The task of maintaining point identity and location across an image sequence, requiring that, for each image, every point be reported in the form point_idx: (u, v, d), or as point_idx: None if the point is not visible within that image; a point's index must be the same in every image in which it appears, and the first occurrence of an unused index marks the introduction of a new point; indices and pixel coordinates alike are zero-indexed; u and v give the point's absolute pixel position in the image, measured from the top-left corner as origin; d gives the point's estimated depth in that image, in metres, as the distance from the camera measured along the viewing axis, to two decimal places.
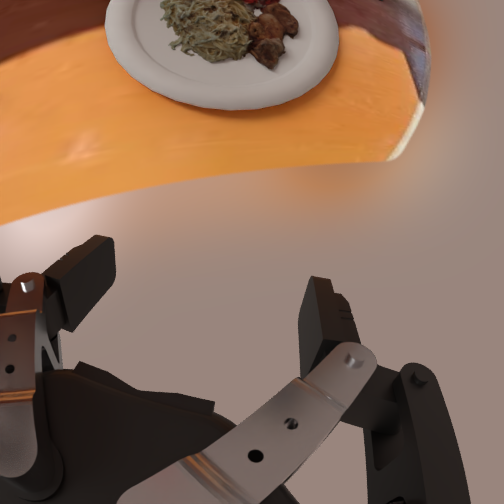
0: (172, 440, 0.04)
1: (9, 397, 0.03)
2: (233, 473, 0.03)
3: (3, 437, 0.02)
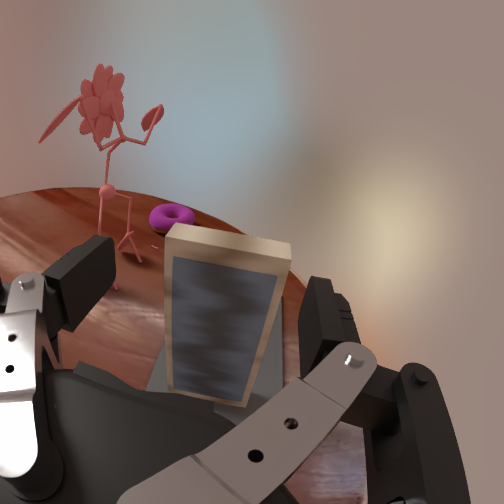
0: (172, 440, 0.04)
1: (9, 397, 0.03)
2: (233, 473, 0.03)
3: (3, 437, 0.02)
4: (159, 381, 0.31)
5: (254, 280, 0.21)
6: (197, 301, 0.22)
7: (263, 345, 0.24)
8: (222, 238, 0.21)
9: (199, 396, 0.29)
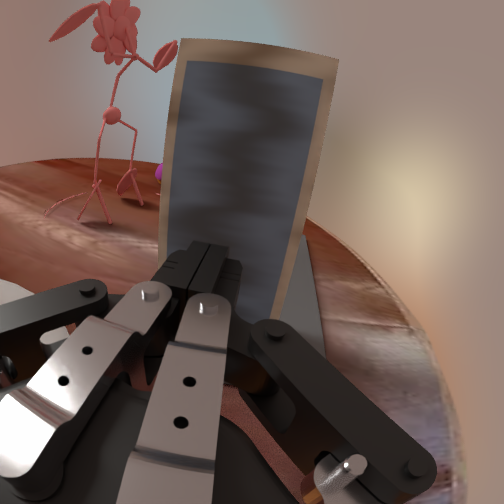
0: None
1: (40, 408, 0.03)
2: (175, 446, 0.04)
3: (3, 437, 0.02)
4: None
5: (293, 83, 0.14)
6: (213, 121, 0.15)
7: (305, 203, 0.17)
8: None
9: None
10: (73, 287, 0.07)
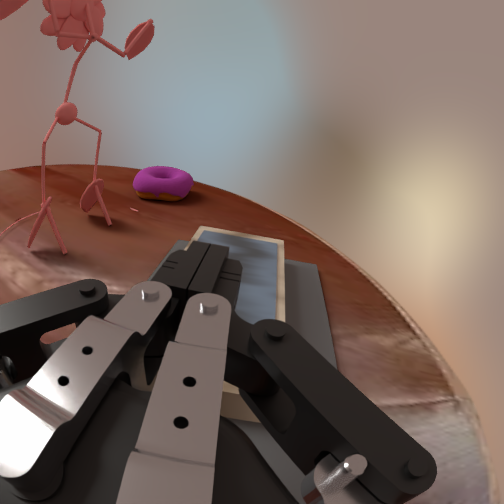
0: None
1: (40, 409, 0.03)
2: (175, 446, 0.04)
3: (3, 437, 0.02)
4: None
5: (262, 243, 0.29)
6: None
7: (281, 283, 0.23)
8: None
9: None
10: (73, 287, 0.07)
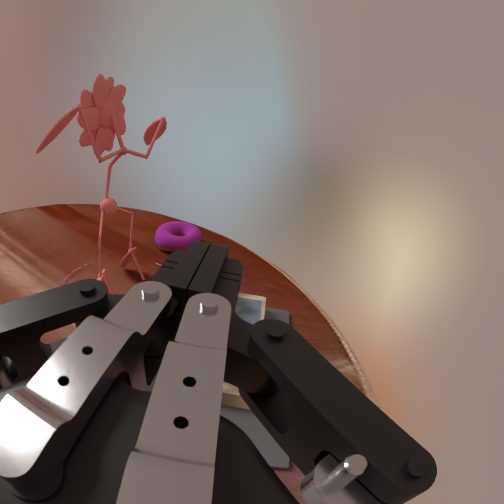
0: None
1: (40, 408, 0.03)
2: (175, 446, 0.04)
3: (3, 437, 0.02)
4: None
5: (251, 301, 0.44)
6: None
7: None
8: None
9: None
10: (73, 287, 0.07)
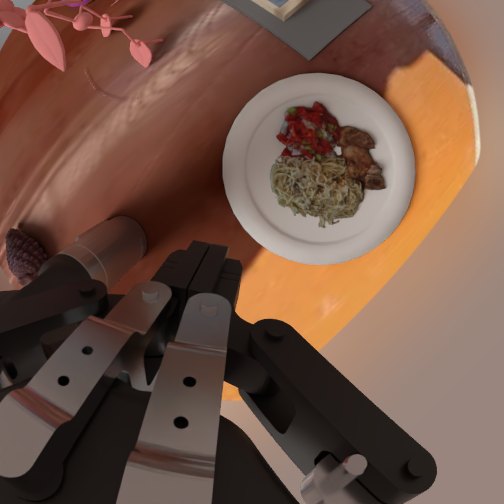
0: None
1: (40, 409, 0.03)
2: (175, 446, 0.04)
3: (3, 437, 0.02)
4: (286, 33, 0.34)
5: None
6: None
7: None
8: None
9: None
10: (73, 287, 0.07)
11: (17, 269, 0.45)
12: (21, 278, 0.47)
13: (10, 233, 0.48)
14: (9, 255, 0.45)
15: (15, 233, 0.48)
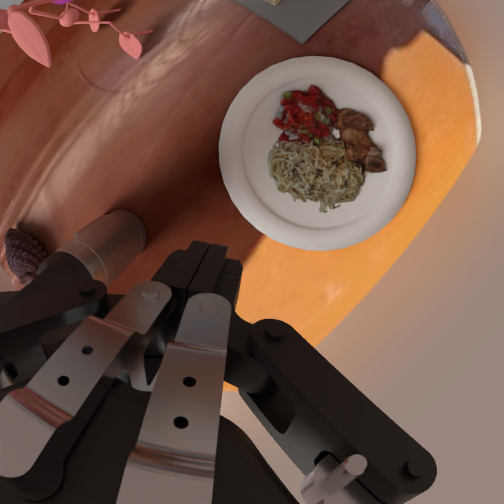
0: None
1: (40, 408, 0.03)
2: (175, 446, 0.04)
3: (3, 437, 0.02)
4: (278, 17, 0.31)
5: None
6: None
7: None
8: None
9: None
10: (73, 287, 0.07)
11: (17, 269, 0.45)
12: (21, 277, 0.47)
13: (9, 233, 0.48)
14: (8, 255, 0.45)
15: (14, 233, 0.48)
